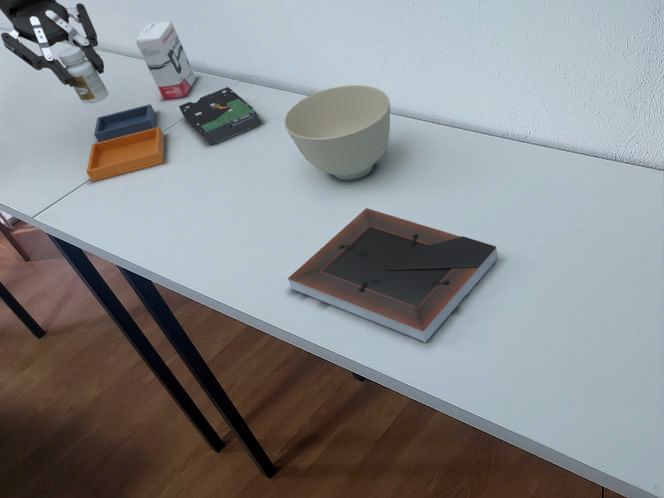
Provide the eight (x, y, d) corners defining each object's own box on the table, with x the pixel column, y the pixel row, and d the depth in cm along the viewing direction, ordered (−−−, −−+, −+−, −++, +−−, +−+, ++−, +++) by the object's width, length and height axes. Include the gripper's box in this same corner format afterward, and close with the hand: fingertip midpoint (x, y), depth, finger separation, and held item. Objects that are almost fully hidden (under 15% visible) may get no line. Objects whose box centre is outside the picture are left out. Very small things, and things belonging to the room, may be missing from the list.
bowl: (402, 190, 97) (388, 129, 89) (299, 205, 97) (277, 146, 90) (402, 136, 108) (390, 78, 100) (309, 150, 108) (290, 93, 101)
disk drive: (183, 120, 122) (210, 146, 113) (177, 106, 120) (203, 132, 111) (233, 99, 126) (263, 124, 117) (227, 85, 124) (257, 109, 115)
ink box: (186, 97, 129) (158, 37, 120) (162, 100, 129) (133, 40, 121) (197, 78, 135) (171, 19, 126) (174, 81, 135) (147, 23, 126)
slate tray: (99, 144, 120) (93, 134, 118) (103, 127, 124) (97, 117, 123) (154, 130, 121) (149, 120, 119) (155, 113, 126) (150, 104, 124)
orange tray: (92, 181, 110) (86, 171, 109) (98, 153, 117) (92, 143, 115) (163, 163, 112) (158, 152, 110) (164, 136, 118) (159, 126, 117)
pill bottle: (76, 103, 106) (48, 56, 100) (96, 90, 108) (70, 44, 103) (94, 106, 104) (67, 58, 99) (114, 93, 107) (88, 46, 101)
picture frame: (498, 261, 83) (370, 220, 92) (496, 245, 81) (366, 206, 90) (426, 345, 74) (293, 291, 84) (422, 330, 72) (287, 277, 82)
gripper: (-42, -16, 93) (41, 83, 96) (51, -48, 100) (126, 46, 102) (-29, 16, 100) (48, 108, 103) (58, -16, 106) (128, 71, 109)
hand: (87, 76), depth 102 cm, fingers closed on pill bottle, 4 cm apart
